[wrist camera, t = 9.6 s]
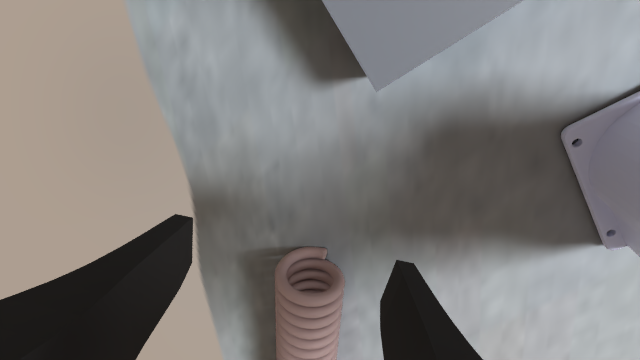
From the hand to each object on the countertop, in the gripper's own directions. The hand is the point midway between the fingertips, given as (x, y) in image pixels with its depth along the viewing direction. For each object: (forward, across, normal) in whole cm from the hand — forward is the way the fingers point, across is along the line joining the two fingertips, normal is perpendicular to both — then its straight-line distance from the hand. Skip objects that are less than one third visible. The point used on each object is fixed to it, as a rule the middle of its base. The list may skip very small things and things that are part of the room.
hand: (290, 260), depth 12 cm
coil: (+10, -2, +16) cm, 19 cm away
